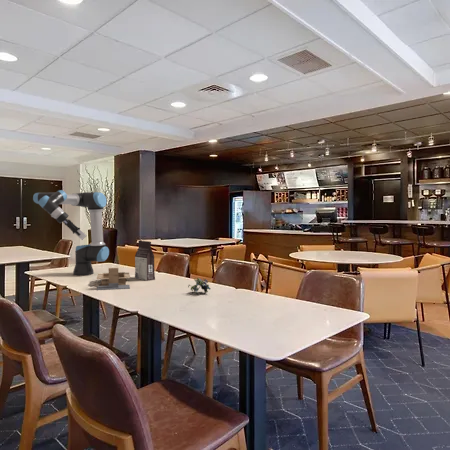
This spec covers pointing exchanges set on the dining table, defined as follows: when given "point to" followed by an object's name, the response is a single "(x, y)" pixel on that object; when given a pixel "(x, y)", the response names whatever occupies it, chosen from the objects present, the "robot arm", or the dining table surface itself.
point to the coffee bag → (144, 262)
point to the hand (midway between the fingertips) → (84, 238)
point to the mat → (113, 288)
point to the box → (113, 277)
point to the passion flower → (200, 283)
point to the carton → (105, 278)
